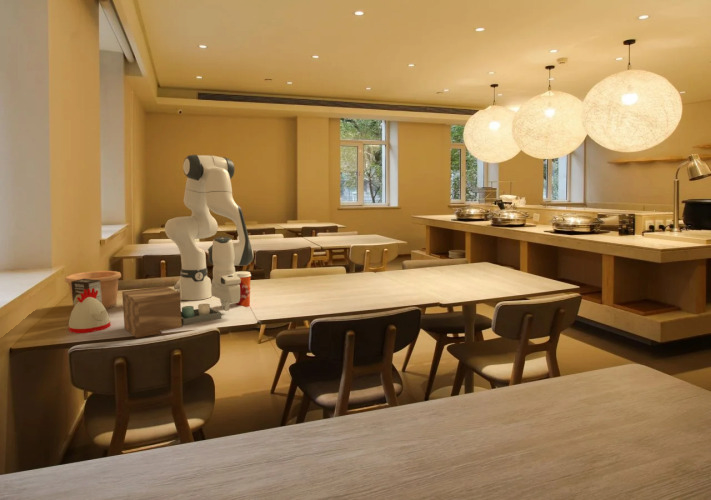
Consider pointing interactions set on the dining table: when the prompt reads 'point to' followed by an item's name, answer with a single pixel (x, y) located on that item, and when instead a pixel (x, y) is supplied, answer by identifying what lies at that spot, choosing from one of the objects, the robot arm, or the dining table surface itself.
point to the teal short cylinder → (187, 311)
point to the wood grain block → (151, 310)
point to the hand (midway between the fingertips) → (225, 310)
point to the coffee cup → (244, 288)
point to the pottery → (107, 284)
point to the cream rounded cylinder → (204, 309)
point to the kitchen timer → (88, 314)
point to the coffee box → (86, 284)
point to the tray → (201, 317)
